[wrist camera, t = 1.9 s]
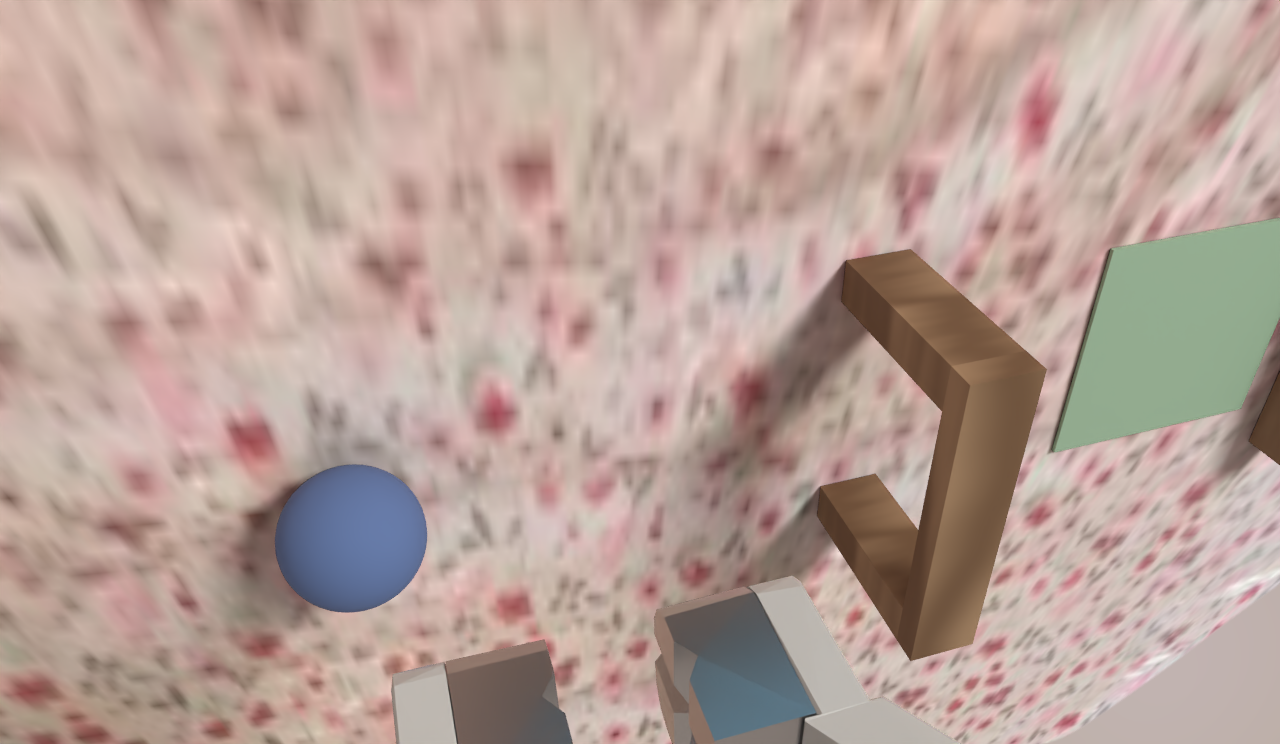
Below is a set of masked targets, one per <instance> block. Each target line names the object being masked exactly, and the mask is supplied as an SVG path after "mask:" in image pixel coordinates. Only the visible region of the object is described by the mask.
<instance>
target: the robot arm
mask: <svg viewBox="0 0 1280 744" xmlns="http://www.w3.org/2000/svg"><path fill="white" fill-rule="evenodd" d="M654 634H655V637H656V639H657V642H658V645H659V647H660V650H661V653H662V654H661V655H660V656H659V657H658V659H657V660H656V661H655V668H656V683H657V689H658V695H659V700H660V706H661V710H662V713H663V717H664V720H665V724H666V727H667V730H668V733H669V736H670V739H671V742H672V744H961V743H959V742H958V741H956V740H954V739H953V738H951V737H949V736H948V735H946V734H945V733H943V732H941V731H940V730H938V729H936V728H935V727H933V726H931V725H930V724H928V723H926V722H925V721H923V720H921V719H920V718H918V717H916V716H915V715H913V714H912V713H910V712H908V711H907V710H905V709H903V708H902V707H900V706H898V705H897V704H895V703H893V702H892V701H890V700H888V699H887V698H885V697H884V696H883V697H879V698H875V699H871V700H870V699H869V697H868V695H867V694H866V692H865V690H864V689H863V687H862V685H861V684H860V682H859V680H858V678H857V677H856V675H855V673H854V672H853V670H852V668H851V666H850V665H849V663H848V661H847V660H846V658H845V656H844V654H843V653H842V651H841V649H840V648H839V646H838V644H837V643H836V641H835V639H834V637H833V636H832V634H831V632H830V631H829V629H828V627H827V625H826V624H825V622H824V620H823V619H822V617H821V615H820V614H819V612H818V610H817V608H816V607H815V605H814V603H813V602H812V600H811V598H810V596H809V595H808V593H807V591H806V590H805V588H804V586H803V584H802V583H801V582H800V581H799V580H798V579H797V578H795V577H794V576H793V575H792V576H787V577H783V578H779V579H776V580H772V581H768V582H764V583H760V584H756V585H752V586H748V587H747V588H746V587H744V586H743V587H740V588H736V589H732V590H728V591H724V592H721V593H717V594H713V595H709V596H706V597H702V598H698V599H694V600H690V601H687V602H683V603H679V604H675V605H671V606H668V607H664V608H660V609H657V610H656V613H655V616H654ZM391 693H392V703H393V714H394V724H395V735H396V744H573V742H572V738H571V734H570V731H569V727H568V723H567V719H566V715H565V713H564V712H563V711H561V710H560V709H559V705H558V698H557V690H556V683H555V676H554V670H553V666H552V663H551V659H550V656H549V652H548V649H547V646H546V642H545V639H544V640H540V641H535V642H531V643H526V644H522V645H517V646H513V647H508V648H504V649H499V650H495V651H490V652H486V653H481V654H477V655H472V656H468V657H463V658H459V659H454V660H450V661H446V664H445V662H442V663H437V664H433V665H429V666H425V667H421V668H416V669H412V670H408V671H404V672H400V673H395V674H393V677H392V688H391Z"/></svg>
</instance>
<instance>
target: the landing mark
mask: <svg viewBox="0 0 1280 744" xmlns="http://www.w3.org/2000/svg"><path fill="white" fill-rule="evenodd" d="M1279 318H1280V218H1276V219H1271V220H1265V221H1260V222H1255V223H1249V224H1244V225H1238V226H1233V227H1227V228H1222V229H1216V230H1211V231H1205V232H1200V233H1194V234H1189V235H1183V236H1178V237H1172V238H1167V239H1161V240H1156V241H1150V242H1145V243H1139V244H1134V245H1128V246H1123V247H1117V248H1112V249H1111V250H1110V253H1109V257H1108V260H1107V264H1106V267H1105V270H1104V274H1103V277H1102V281H1101V284H1100V287H1099V291H1098V294H1097V298H1096V301H1095V305H1094V308H1093V311H1092V315H1091V318H1090V322H1089V325H1088V328H1087V332H1086V335H1085V339H1084V342H1083V346H1082V349H1081V352H1080V356H1079V359H1078V363H1077V366H1076V370H1075V373H1074V376H1073V380H1072V383H1071V387H1070V390H1069V393H1068V397H1067V400H1066V404H1065V407H1064V411H1063V414H1062V417H1061V421H1060V424H1059V428H1058V431H1057V435H1056V438H1055V441H1054V445H1053V448H1052V451H1053V452H1058V451H1062V450H1067V449H1071V448H1075V447H1080V446H1084V445H1088V444H1092V443H1097V442H1101V441H1105V440H1110V439H1114V438H1118V437H1122V436H1127V435H1131V434H1135V433H1140V432H1144V431H1148V430H1152V429H1157V428H1161V427H1165V426H1170V425H1174V424H1178V423H1182V422H1187V421H1191V420H1195V419H1200V418H1204V417H1208V416H1212V415H1217V414H1221V413H1225V412H1230V411H1234V410H1238V409H1241V407H1242V405H1243V402H1244V400H1245V398H1246V395H1247V393H1248V391H1249V388H1250V386H1251V383H1252V381H1253V379H1254V376H1255V374H1256V372H1257V369H1258V367H1259V365H1260V362H1261V360H1262V358H1263V355H1264V353H1265V351H1266V348H1267V346H1268V344H1269V341H1270V339H1271V337H1272V334H1273V332H1274V330H1275V327H1276V325H1277V323H1278V320H1279Z"/></svg>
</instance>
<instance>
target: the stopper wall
mask: <svg viewBox="0 0 1280 744" xmlns="http://www.w3.org/2000/svg"><path fill="white" fill-rule="evenodd" d="M1249 442H1250V443H1252V444H1253V445H1254V446H1255V447H1257V448H1258V449H1259V450H1261V451H1262V452H1263V453H1265V454H1266V455H1267V456H1268V457H1270V458H1271V459H1272V460H1274V461H1275V462H1276V463H1278V464H1279V465H1280V372H1279V374H1278V377H1277V379H1276V381H1275V383H1274V386H1273V388H1272V390H1271V392H1270V395H1269V397H1268V399H1267V401H1266V404H1265V406H1264V408H1263V410H1262V413H1261V415H1260V417H1259V419H1258V422H1257V424H1256V426H1255V428H1254V431H1253V433H1252V435H1251V437H1250V440H1249Z"/></svg>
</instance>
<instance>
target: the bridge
mask: <svg viewBox="0 0 1280 744" xmlns="http://www.w3.org/2000/svg"><path fill="white" fill-rule="evenodd" d="M841 302H842V303H843V304H844V305H845V306H846V307H847V308H848V309H849V311H850V312H851V313H852V314H853V315H854V316H855V317H856V318H857V319H858V320H859V321H860V323H861V324H862V325H863V326H864V327H865V328H866V329H867V330H868V331H869V332H870V333H871V335H872V336H873V337H874V338H875V339H876V340H877V341H878V342H879V343H880V344H881V345H882V346H883V348H884V349H885V350H886V351H887V352H888V353H889V354H890V355H891V356H892V357H893V358H894V360H895V361H896V362H897V363H898V364H899V365H900V366H901V367H902V368H903V369H904V370H905V372H906V373H907V374H908V375H909V376H910V377H911V378H912V379H913V380H914V381H915V382H916V384H917V385H918V386H919V387H920V388H921V389H922V390H923V391H924V392H925V393H926V394H927V396H928V397H929V398H930V399H931V400H932V401H933V402H934V403H935V404H936V405H937V406H938V408H939V409H940V410H941V411H942V415H941V420H940V425H939V430H938V435H937V440H936V445H935V450H934V455H933V460H932V465H931V470H930V475H929V480H928V485H927V490H926V495H925V500H924V505H923V510H922V515H921V520H920V525H919V530H918V529H917V528H916V527H915V525H914V524H913V523H912V521H911V520H910V519H909V517H908V516H907V515H906V513H905V512H904V511H903V509H902V508H901V507H900V505H899V504H898V503H897V502H896V500H895V499H894V498H893V496H892V495H891V494H890V492H889V491H888V490H887V488H886V487H885V486H884V484H883V483H882V482H881V480H880V479H879V478H878V476H877V475H876V474H873V475H869V476H864V477H860V478H855V479H851V480H847V481H842V482H838V483H834V484H829V485H825V486H821V487H820V495H819V504H818V513H817V517H818V518H819V520H820V521H821V523H822V524H823V526H824V527H825V529H826V531H827V532H828V534H829V535H830V537H831V538H832V540H833V541H834V543H835V545H836V546H837V548H838V549H839V551H840V552H841V554H842V555H843V557H844V559H845V560H846V562H847V563H848V565H849V566H850V568H851V569H852V571H853V572H854V574H855V576H856V577H857V579H858V580H859V582H860V583H861V585H862V586H863V588H864V590H865V591H866V593H867V594H868V596H869V597H870V599H871V600H872V602H873V604H874V605H875V607H876V608H877V610H878V611H879V613H880V614H881V616H882V617H883V619H884V621H885V622H886V624H887V625H888V627H889V628H890V630H891V631H892V633H893V635H894V636H895V638H896V639H897V641H898V642H899V644H900V645H901V647H902V649H903V650H904V652H905V653H906V655H907V656H908V658H909V659H910V661H912V660H916V659H920V658H923V657H927V656H930V655H934V654H938V653H941V652H945V651H948V650H952V649H956V648H959V647H963V646H966V645H970V644H973V640H974V636H975V632H976V629H977V625H978V621H979V618H980V614H981V610H982V607H983V603H984V599H985V596H986V592H987V588H988V584H989V581H990V577H991V573H992V570H993V566H994V562H995V559H996V555H997V551H998V548H999V544H1000V540H1001V537H1002V533H1003V529H1004V525H1005V522H1006V518H1007V514H1008V511H1009V507H1010V503H1011V500H1012V496H1013V492H1014V489H1015V485H1016V481H1017V477H1018V474H1019V470H1020V466H1021V463H1022V459H1023V455H1024V452H1025V448H1026V444H1027V441H1028V437H1029V433H1030V429H1031V426H1032V422H1033V418H1034V415H1035V411H1036V407H1037V404H1038V400H1039V396H1040V393H1041V389H1042V385H1043V382H1044V378H1045V374H1046V370H1047V369H1046V368H1045V367H1044V366H1043V365H1041V364H1040V363H1039V362H1038V361H1037V360H1036V359H1035V358H1033V357H1032V356H1031V355H1030V354H1029V353H1028V352H1027V351H1026V350H1024V349H1023V348H1022V347H1021V346H1020V345H1019V344H1018V343H1016V342H1015V341H1014V340H1013V339H1012V338H1011V337H1010V336H1009V335H1007V334H1006V333H1005V332H1004V331H1003V330H1002V329H1001V328H999V327H998V326H997V325H996V324H995V323H994V322H993V321H992V320H990V319H989V318H988V317H987V316H986V315H985V314H984V313H982V312H981V311H980V310H979V309H978V308H977V307H976V306H974V305H973V304H972V303H971V302H970V301H969V300H968V299H967V298H965V297H964V296H963V295H962V294H961V293H960V292H959V291H957V290H956V289H955V288H954V287H953V286H952V285H951V284H950V283H948V282H947V281H946V280H945V279H944V278H943V277H942V276H940V275H939V274H938V273H937V272H936V271H935V270H934V269H933V268H931V267H930V266H929V265H928V264H927V263H926V262H925V261H923V260H922V259H921V258H920V257H919V256H918V255H917V254H916V253H914V252H913V251H912V250H911V249H909V250H904V251H898V252H892V253H886V254H881V255H875V256H869V257H863V258H857V259H852V260H846V266H845V274H844V283H843V292H842V301H841Z"/></svg>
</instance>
